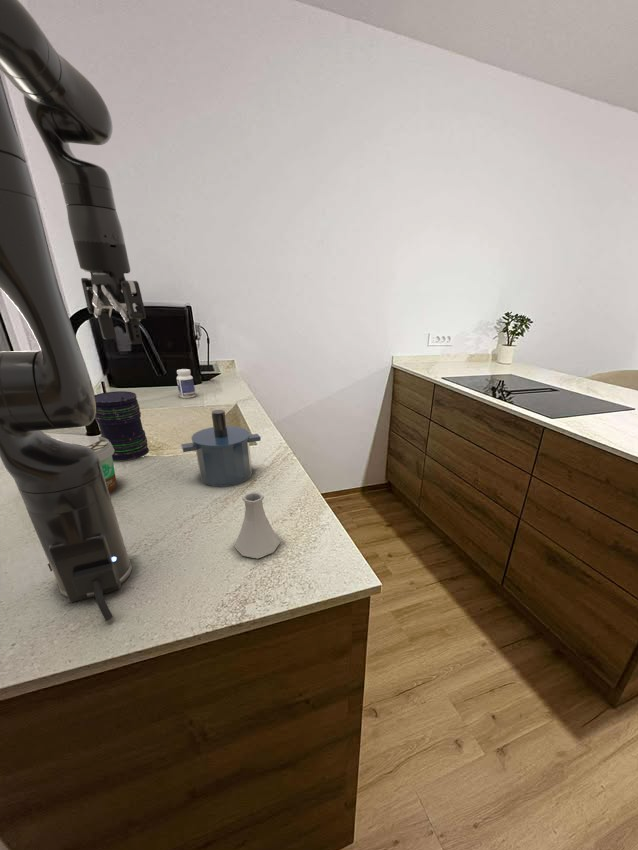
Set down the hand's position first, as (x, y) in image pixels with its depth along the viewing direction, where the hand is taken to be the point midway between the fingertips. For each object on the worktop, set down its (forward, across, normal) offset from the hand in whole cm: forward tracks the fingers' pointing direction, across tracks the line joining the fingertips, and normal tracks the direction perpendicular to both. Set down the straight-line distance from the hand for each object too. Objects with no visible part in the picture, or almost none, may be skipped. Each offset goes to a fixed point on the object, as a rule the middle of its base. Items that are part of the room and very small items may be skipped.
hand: (122, 341), depth 73 cm
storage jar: (+30, -20, +6) cm, 37 cm away
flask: (+30, +36, -4) cm, 47 cm away
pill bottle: (+30, -54, +49) cm, 79 cm away
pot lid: (+21, +10, +12) cm, 26 cm away
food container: (+30, -5, -9) cm, 32 cm away
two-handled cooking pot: (+30, +10, +12) cm, 34 cm away
